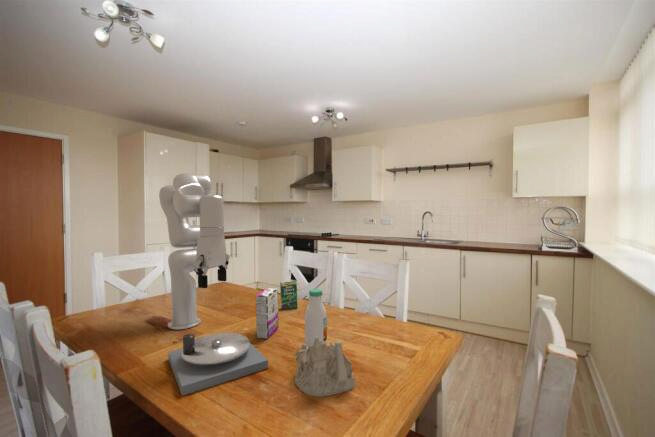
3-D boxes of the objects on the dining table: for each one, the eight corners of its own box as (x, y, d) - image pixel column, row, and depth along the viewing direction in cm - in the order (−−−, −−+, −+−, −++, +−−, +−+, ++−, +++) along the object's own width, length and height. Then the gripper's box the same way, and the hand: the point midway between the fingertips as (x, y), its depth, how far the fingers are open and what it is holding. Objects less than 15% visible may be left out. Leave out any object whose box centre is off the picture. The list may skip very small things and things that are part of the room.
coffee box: (280, 309, 147) (280, 283, 147) (280, 308, 150) (280, 281, 150) (297, 308, 149) (297, 282, 149) (296, 306, 152) (296, 280, 152)
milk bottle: (319, 353, 102) (318, 294, 102) (300, 348, 106) (300, 291, 106) (331, 344, 109) (330, 289, 108) (313, 340, 113) (312, 286, 112)
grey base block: (168, 359, 99) (168, 348, 99) (241, 340, 113) (241, 331, 112) (182, 395, 79) (181, 382, 79) (268, 368, 93) (267, 356, 93)
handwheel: (237, 333, 110) (237, 314, 109) (259, 355, 93) (258, 332, 93) (176, 348, 98) (175, 327, 98) (188, 376, 82) (188, 350, 82)
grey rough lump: (360, 391, 81) (356, 334, 81) (298, 402, 77) (295, 342, 78) (344, 365, 96) (341, 317, 96) (292, 374, 92) (289, 324, 93)
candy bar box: (267, 327, 126) (267, 287, 125) (278, 328, 125) (278, 288, 124) (255, 338, 115) (255, 295, 114) (268, 339, 114) (267, 295, 113)
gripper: (219, 230, 110) (219, 278, 110) (183, 234, 93) (184, 289, 94) (237, 231, 108) (237, 279, 108) (203, 234, 91) (204, 291, 92)
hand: (212, 284), depth 101 cm, fingers open, 9 cm apart
